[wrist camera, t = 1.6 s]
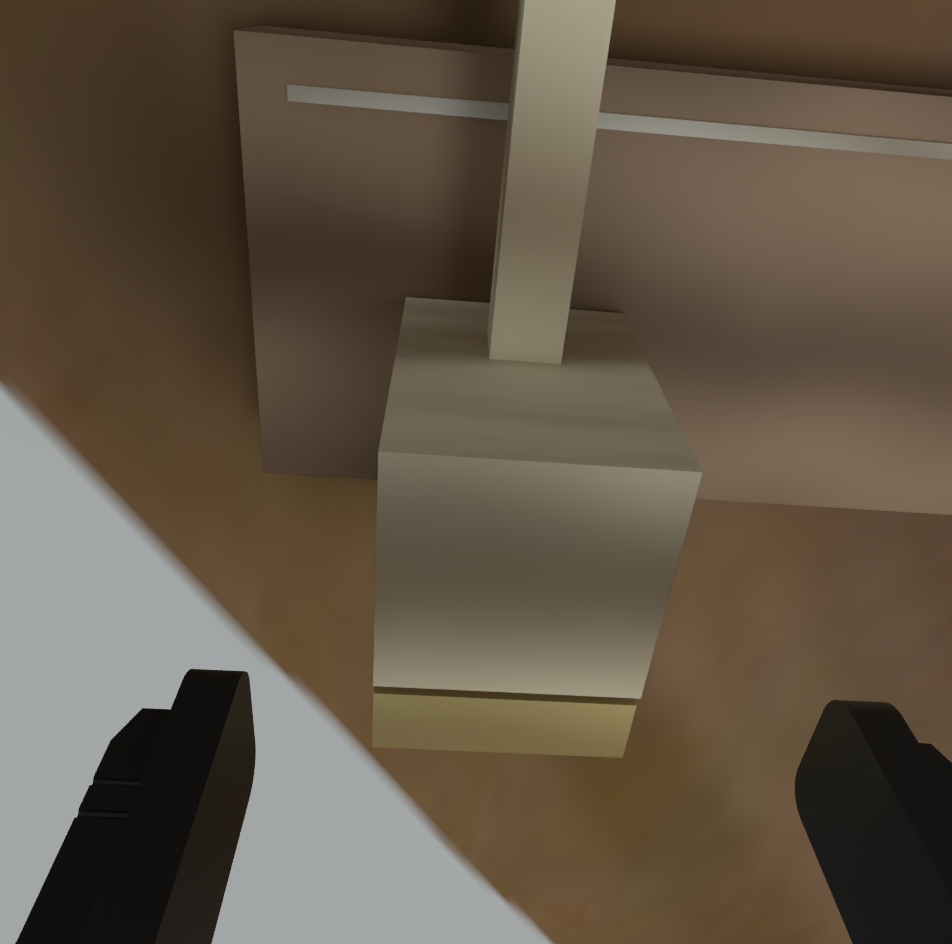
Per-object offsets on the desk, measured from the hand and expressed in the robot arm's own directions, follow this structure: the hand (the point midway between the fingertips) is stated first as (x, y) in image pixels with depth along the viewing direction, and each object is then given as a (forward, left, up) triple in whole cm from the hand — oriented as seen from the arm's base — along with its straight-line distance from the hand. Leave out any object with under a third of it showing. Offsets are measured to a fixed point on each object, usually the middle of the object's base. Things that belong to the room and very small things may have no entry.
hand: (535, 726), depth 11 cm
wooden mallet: (-3, 0, -12) cm, 12 cm away
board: (-3, +8, -12) cm, 15 cm away
